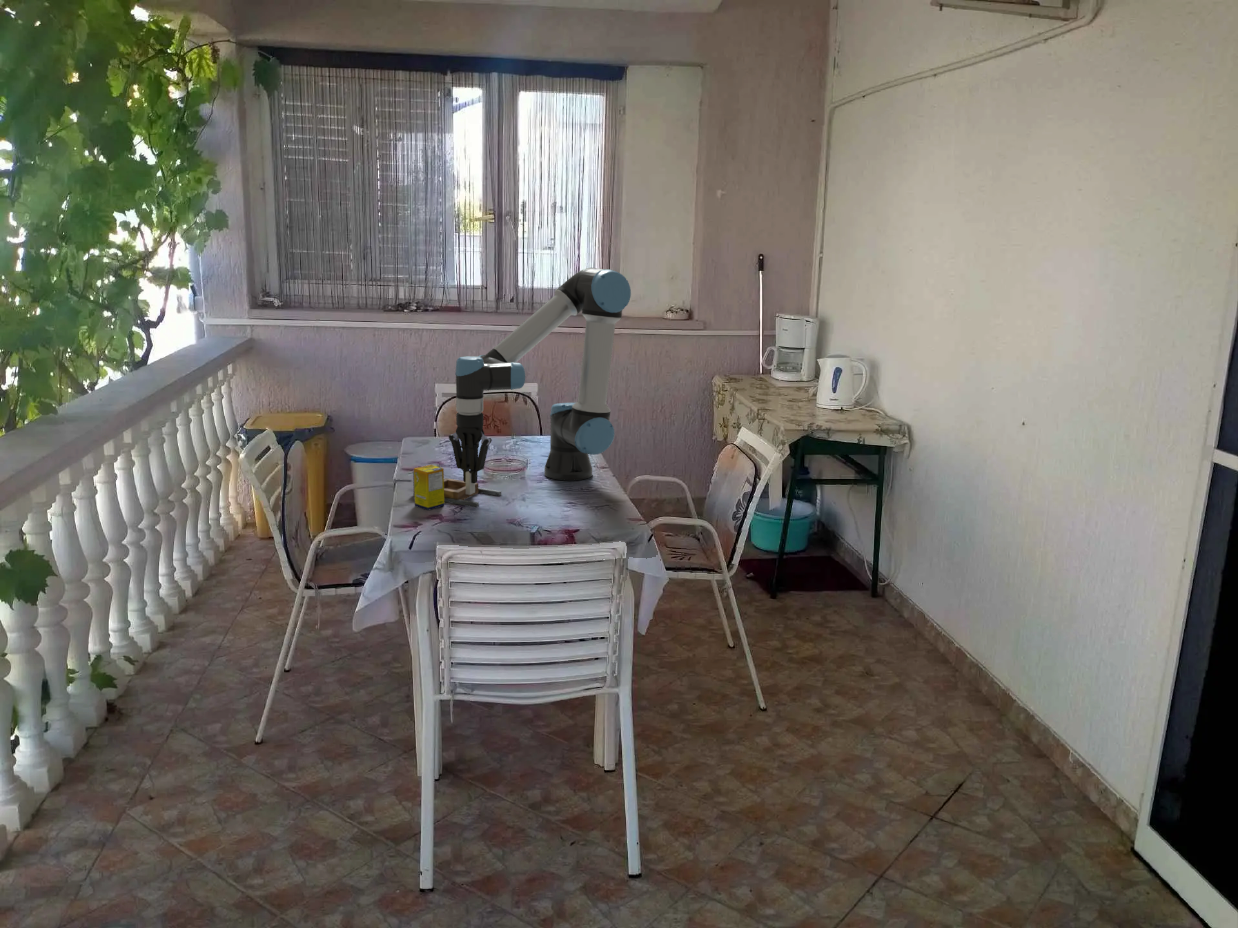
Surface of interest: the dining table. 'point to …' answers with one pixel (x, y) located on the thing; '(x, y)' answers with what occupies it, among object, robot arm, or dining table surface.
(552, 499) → the dining table surface
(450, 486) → the tray
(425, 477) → the supplement box
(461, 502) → the track
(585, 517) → the dining table surface
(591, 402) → the robot arm
